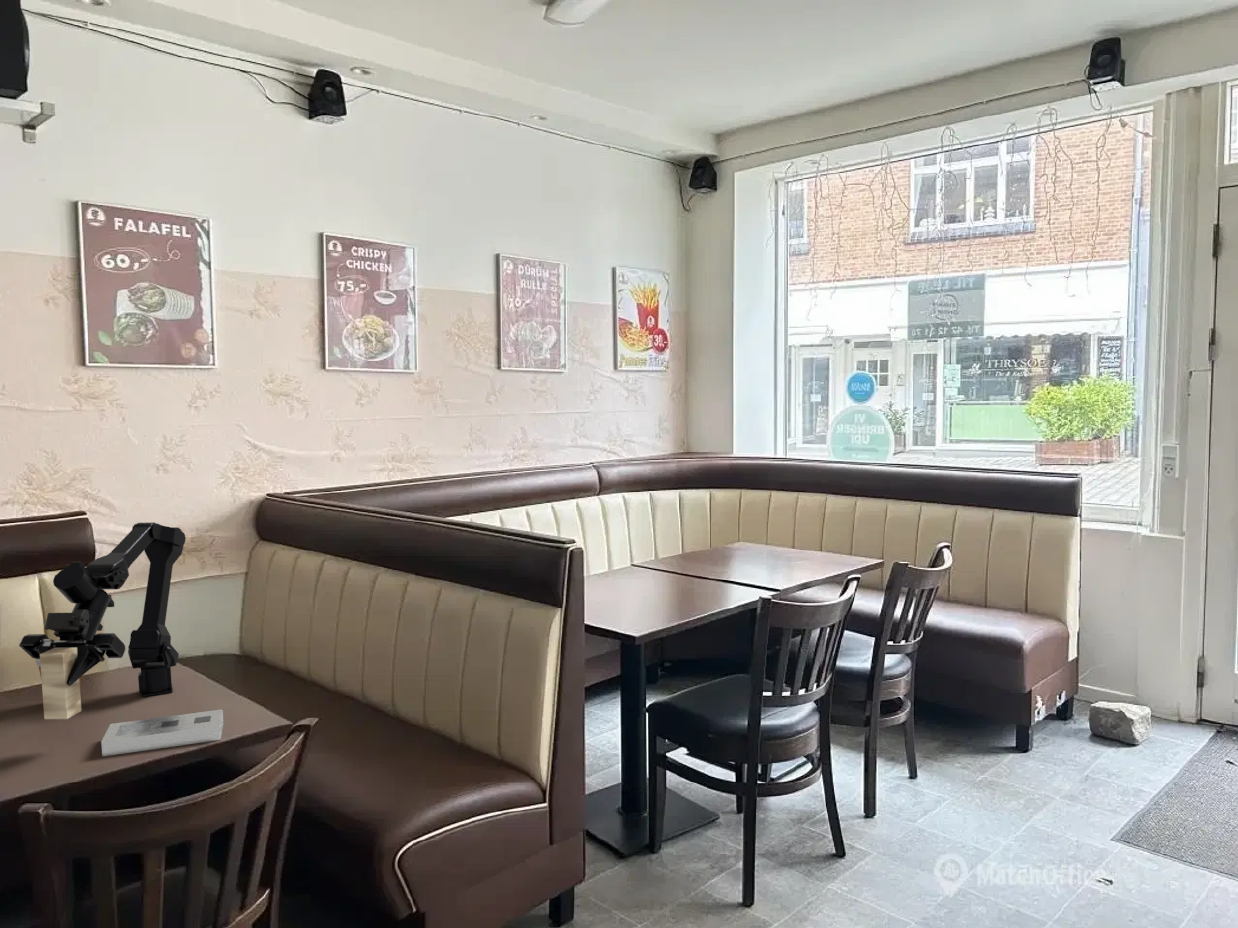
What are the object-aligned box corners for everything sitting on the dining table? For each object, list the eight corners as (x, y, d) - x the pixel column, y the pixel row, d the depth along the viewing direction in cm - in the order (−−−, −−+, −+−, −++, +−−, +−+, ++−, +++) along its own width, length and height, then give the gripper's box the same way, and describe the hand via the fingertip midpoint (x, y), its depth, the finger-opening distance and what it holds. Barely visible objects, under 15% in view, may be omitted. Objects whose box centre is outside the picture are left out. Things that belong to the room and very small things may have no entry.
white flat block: (223, 722, 189) (222, 708, 189) (220, 739, 180) (219, 724, 180) (111, 737, 182) (110, 723, 182) (102, 756, 172) (101, 740, 172)
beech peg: (59, 710, 178) (54, 647, 177) (81, 710, 178) (77, 647, 177) (44, 719, 174) (39, 654, 173) (67, 718, 174) (62, 654, 173)
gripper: (21, 595, 178) (-14, 666, 168) (113, 594, 178) (83, 664, 168) (50, 623, 187) (17, 692, 177) (138, 622, 187) (110, 691, 176)
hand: (56, 684), depth 174 cm, fingers closed on beech peg, 4 cm apart
